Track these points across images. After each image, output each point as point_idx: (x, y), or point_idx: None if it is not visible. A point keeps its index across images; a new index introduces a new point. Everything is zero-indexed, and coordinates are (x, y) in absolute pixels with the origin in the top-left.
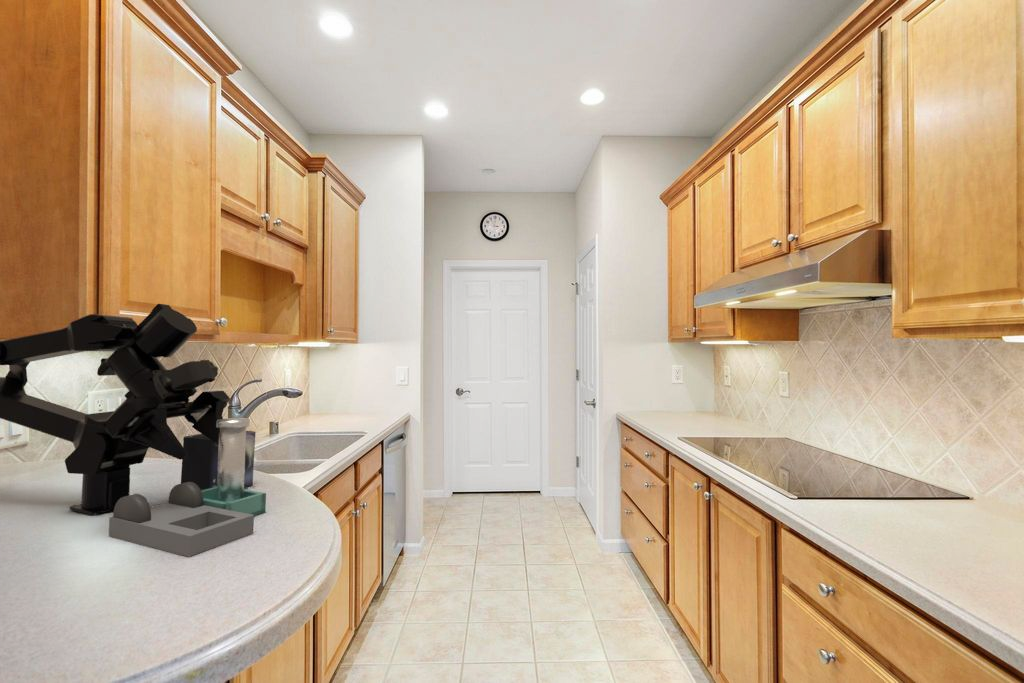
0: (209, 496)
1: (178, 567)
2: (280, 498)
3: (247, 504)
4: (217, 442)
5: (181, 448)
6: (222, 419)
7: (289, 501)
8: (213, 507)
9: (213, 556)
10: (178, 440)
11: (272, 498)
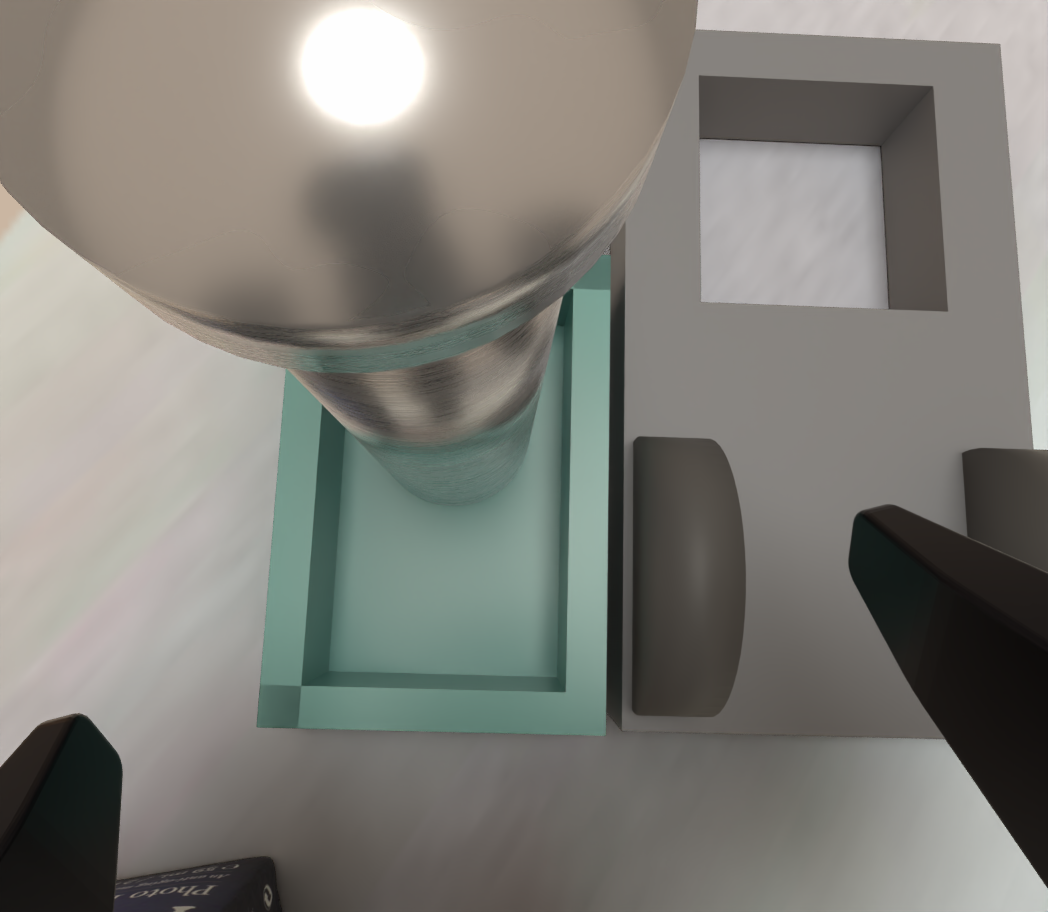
0: (402, 680)
1: (1020, 58)
2: (43, 443)
3: None
4: (102, 907)
5: (954, 544)
6: (405, 224)
7: (82, 337)
8: (631, 347)
9: (883, 29)
10: (1027, 633)
11: (61, 493)
